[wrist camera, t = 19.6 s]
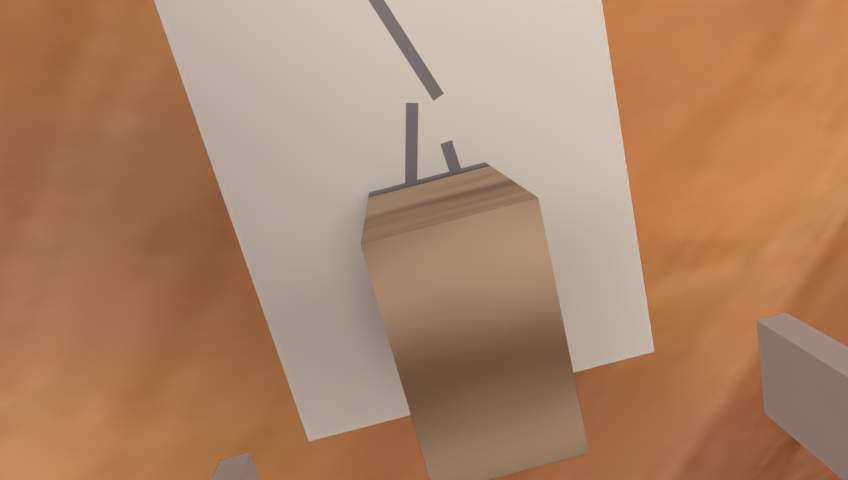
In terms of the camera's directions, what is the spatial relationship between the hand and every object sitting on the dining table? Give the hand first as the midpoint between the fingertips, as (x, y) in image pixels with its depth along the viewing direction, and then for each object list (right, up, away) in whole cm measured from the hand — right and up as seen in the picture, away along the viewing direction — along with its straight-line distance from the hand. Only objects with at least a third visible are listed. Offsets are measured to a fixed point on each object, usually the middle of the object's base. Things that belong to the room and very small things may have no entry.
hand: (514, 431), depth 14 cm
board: (-3, +11, +15) cm, 19 cm away
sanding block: (-1, +3, +15) cm, 15 cm away
